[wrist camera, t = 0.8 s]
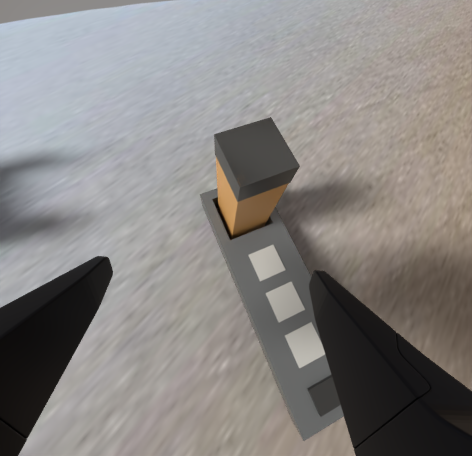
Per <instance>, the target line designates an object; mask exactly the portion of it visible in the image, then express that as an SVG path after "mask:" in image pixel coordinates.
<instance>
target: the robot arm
mask: <svg viewBox="0 0 472 456" xmlns="http://www.w3.org/2000/svg"><path fill="white" fill-rule="evenodd" d="M112 275H113V270H112V267H111V263H110V260H109V258H108V257H104V256H97V257H95V258H93V259H91V260H89V261H87V262H85V263H84V264H82V265H80V266H78V267H76V268H74V269H72V270H70V271H69V272H67V273H65V274H63V275H61V276H59V277H57V278H55V279H54V280H52V281H50V282H48V283H46V284H44V285H42V286H40V287H39V288H37V289H35V290H33V291H31V292H29V293H27V294H25V295H24V296H22V297H20V298H18V299H16V300H14V301H12V302H10V303H9V304H7V305H5V306H3V307H1V308H0V456H18V455H19V453H20V451H21V449H22V448H23V446H24V444H25V442H26V440H27V439H26V438H28V436H29V435H30V433H31V431H32V429H33V427H34V425H35V424H36V422H37V420H38V418H39V416H40V414H41V413H42V411H43V409H44V407H45V405H46V404H47V402H48V400H49V398H50V396H51V394H52V393H53V391H54V389H55V387H56V385H57V384H58V382H59V380H60V378H61V376H62V374H63V373H64V371H65V369H66V367H67V365H68V363H69V362H70V360H71V358H72V356H73V354H74V353H75V351H76V349H77V347H78V345H79V343H80V342H81V340H82V338H83V336H84V334H85V333H86V331H87V329H88V327H89V325H90V323H91V322H92V320H93V318H94V316H95V314H96V312H97V310H98V309H99V306H100V304H101V302H102V299H103V297H104V295H105V292H106V290H107V287H108V285H109V283H110V280H111V278H112ZM309 290H310V296H311V301H312V307H313V312H314V317H315V322H316V325H317V329H318V332H319V335H320V338H321V342H322V345H323V348H324V352H325V355H326V358H327V362H328V365H329V368H330V372H331V375H332V378H333V381H334V385H335V388H336V391H337V395H338V398H339V401H340V405H341V408H342V411H343V415H344V418H345V421H346V424H347V428H348V431H349V434H350V438H351V441H352V444H353V447H354V451H355V455H356V456H472V391H471V390H469V389H468V388H467V387H465V386H464V385H463V384H461V383H460V382H459V381H457V380H456V379H455V378H454V377H452V376H451V375H450V374H448V373H447V372H446V371H444V370H443V369H442V368H440V367H439V366H438V365H436V364H435V363H434V362H433V361H431V360H430V359H429V358H427V357H426V356H425V355H424V354H422V353H421V352H420V351H419V350H417V349H416V348H415V347H414V346H413V345H411V344H410V343H409V342H408V341H406V340H405V339H404V338H403V337H402V336H401V335H399V334H398V333H396V331H395V330H393V329H392V328H391V327H390V326H389V325H387V324H386V323H385V322H384V321H383V320H382V319H380V318H379V317H378V316H377V315H376V314H374V313H373V312H372V311H371V310H370V309H369V308H367V307H366V306H365V305H364V304H363V303H362V302H360V301H359V300H358V299H357V298H356V297H354V296H353V295H352V294H351V293H350V292H349V291H347V290H346V289H345V288H344V287H343V286H341V285H340V284H339V283H338V282H337V281H336V280H334V279H333V278H332V277H331V276H330V275H328V274H327V273H326V272H325V271H320V270H315V271H314V272H313V275H312V277H311V280H310V283H309Z"/></svg>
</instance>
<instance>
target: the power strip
mask: <svg viewBox="0 0 472 456" xmlns="http://www.w3.org/2000/svg"><path fill="white" fill-rule="evenodd" d="M200 196H201V201H202V206H203V208H204V211H205V213H206V215H207V218H208V220H209V223H210V225H211V227H212V230H213V232H214V235H215V237H216V239H217V242H218V244H219V247H220V249H221V251H222V254H223V256H224V258H225V261H226V263H227V266H228V268H229V270H230V273H231V275H232V278H233V280H234V282H235V285H236V287H237V290H238V292H239V294H240V297H241V299H242V302H243V304H244V306H245V309H246V311H247V314H248V316H249V318H250V321H251V323H252V326H253V328H254V330H255V333H256V335H257V338H258V340H259V342H260V345H261V347H262V350H263V352H264V354H265V357H266V359H267V362H268V364H269V366H270V369H271V371H272V374H273V376H274V378H275V381H276V383H277V386H278V388H279V390H280V393H281V395H282V398H283V400H284V402H285V405H286V407H287V410H288V412H289V414H290V417H291V419H292V421H293V423H294V425H295V427H296V428H297V430H298V432H299V434H300V435H301V437H302V439H303V441H305V440H306V439H308V438H310V437H311V436H313V435H314V434H316V433H318V432H319V431H321V430H322V429H324V428H326V427H327V426H329V425H330V424H332V423H334V422H335V421H337V420H339V419H340V418H342V417H343V416H344V415H343V411H342V408H341V405H340V401H339V398H338V395H337V391H336V388H335V385H334V381H333V378H332V375H331V372H330V368H329V365H328V362H327V358H326V355H325V352H324V348H323V345H322V342H321V338H320V335H319V332H318V329H317V325H316V322H315V317H314V312H313V307H312V301H311V296H310V290H309V283H310V280H311V275H310V273H309V271H308V269H307V267H306V265H305V264H304V262H303V260H302V258H301V256H300V254H299V252H298V250H297V248H296V246H295V244H294V242H293V240H292V239H291V237H290V235H289V233H288V231H287V229H286V227H285V225H284V223H283V221H282V219H281V217H280V215H279V214H278V212H277V210H276V208H274V210H273V211H272V213H271V215H270V217H269V218H268V220H267V222H266V224H265V227H262V228H260V229H257V230H255V231H252V232H250V233H247V234H245V235H242V236H240V237H237V238H235V239H232V240H230V239H229V237H228V235H227V232H226V230H225V228H224V225H223V223H222V221H221V218H220V216H219V214H218V212H217V208H218V188H217V189H214V190H211V191H208V192H206V193H203V194H200Z"/></svg>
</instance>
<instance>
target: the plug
mask: <svg viewBox="0 0 472 456" xmlns="http://www.w3.org/2000/svg"><path fill="white" fill-rule="evenodd" d="M214 142H215V155H216V165H217V188H218V210H219V214H220V217H221V219H222V221H223V223H224V226H225V228H226V230H227V233H228V235H229V237H230V239H231V240H232V239H235V238H237V237H240V236H242V235H245V234H247V233H250V232H252V231H255V230H257V229H260V228H262V227H264V225H265V224H266V222H267V220H268V218H269V217H270V215H271V213H272V211H273V210H274V208H275V206H276V204H277V203H278V201H279V199H280V197H281V196H282V194H283V192H284V191H285V189H286V187H287V185H288V184H289V183H290V182H291V180H292V179H293V177H294V175H295V174H296V172H297V170H298V168H299V167H300V166H299V164H298V162H297V161H296V159H295V157H294V155H293V154H292V152H291V150H290V149H289V147H288V145H287V144H286V142H285V140H284V138H283V137H282V135H281V133H280V132H279V130H278V128H277V127H276V125H275V123H274V122H273V120H272V118H271V117H270V118H267V119H264V120H260V121H257V122H254V123H250V124H247V125H244V126H240V127H237V128H234V129H231V130H227V131H224V132H221V133H217V134H214Z"/></svg>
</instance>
